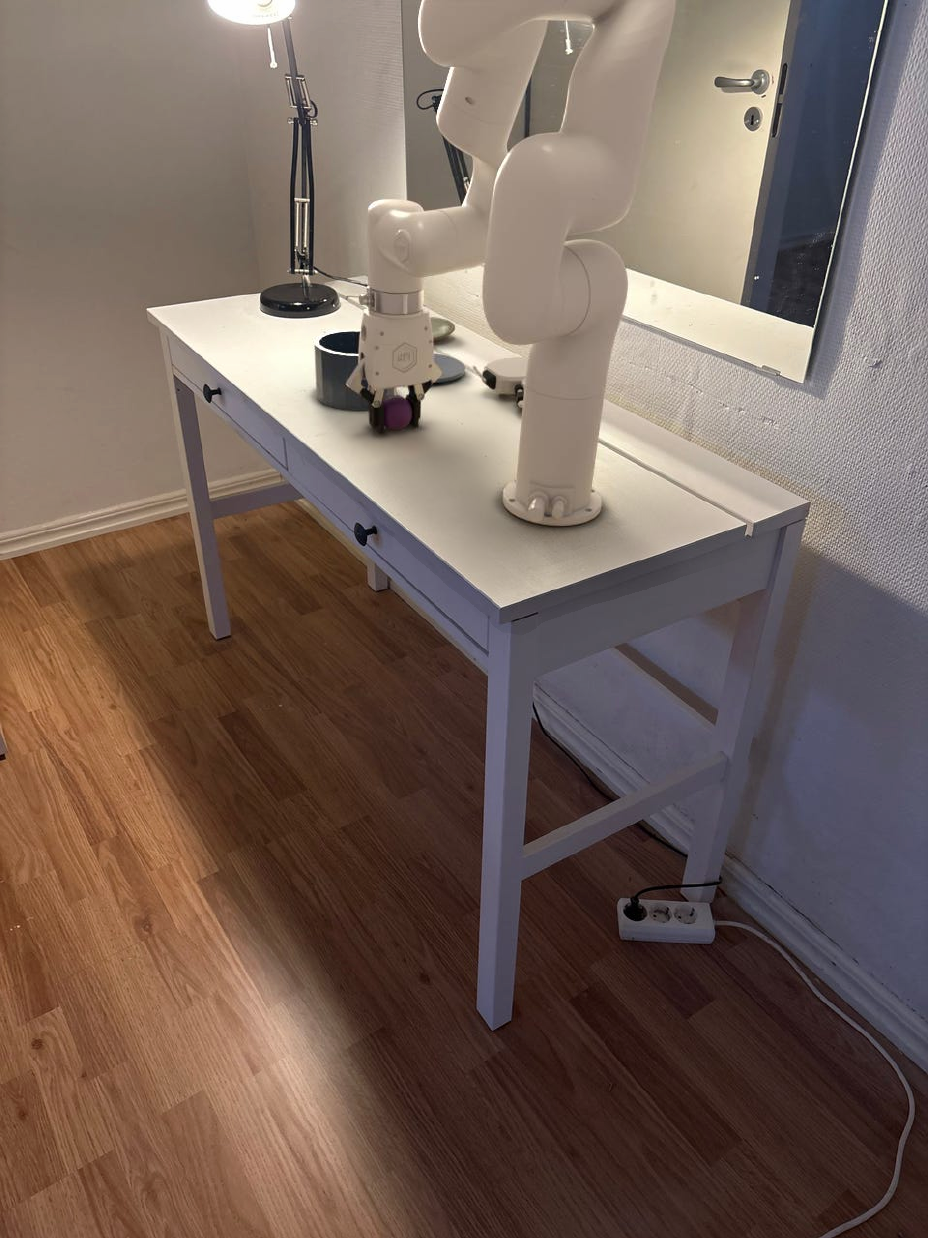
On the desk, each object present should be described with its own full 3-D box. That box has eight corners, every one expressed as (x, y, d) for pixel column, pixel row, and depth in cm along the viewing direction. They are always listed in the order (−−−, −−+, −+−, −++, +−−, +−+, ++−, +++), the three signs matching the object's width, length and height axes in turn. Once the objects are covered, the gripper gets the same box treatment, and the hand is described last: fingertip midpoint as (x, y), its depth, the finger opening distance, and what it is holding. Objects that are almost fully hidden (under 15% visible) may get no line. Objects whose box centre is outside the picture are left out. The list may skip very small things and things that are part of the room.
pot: (345, 421, 136) (343, 365, 132) (297, 383, 149) (294, 330, 144) (418, 408, 142) (419, 354, 137) (366, 372, 154) (366, 321, 150)
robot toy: (582, 413, 146) (531, 376, 156) (587, 386, 143) (534, 350, 153) (517, 425, 140) (468, 386, 150) (521, 397, 138) (470, 359, 148)
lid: (458, 340, 176) (459, 313, 174) (449, 342, 166) (450, 313, 165) (404, 337, 177) (405, 310, 175) (392, 339, 168) (393, 310, 166)
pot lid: (409, 391, 148) (409, 352, 145) (371, 365, 157) (371, 329, 154) (479, 379, 154) (481, 342, 151) (439, 355, 164) (440, 320, 160)
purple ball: (407, 437, 133) (408, 403, 130) (373, 433, 134) (373, 399, 131) (415, 424, 137) (416, 391, 134) (382, 420, 138) (382, 388, 135)
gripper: (349, 313, 119) (351, 445, 129) (463, 301, 126) (458, 427, 136) (326, 298, 124) (330, 426, 134) (438, 287, 131) (434, 409, 141)
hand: (394, 425), depth 135 cm, fingers closed on purple ball, 4 cm apart
